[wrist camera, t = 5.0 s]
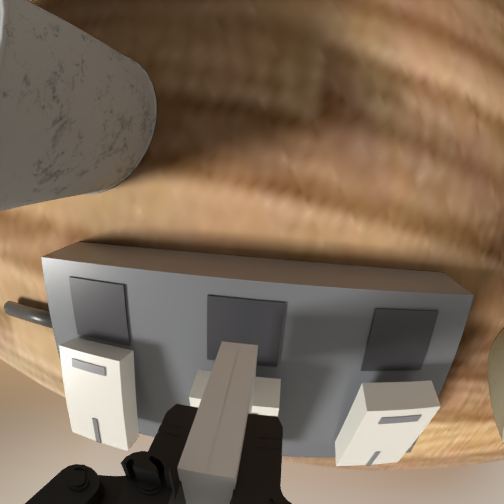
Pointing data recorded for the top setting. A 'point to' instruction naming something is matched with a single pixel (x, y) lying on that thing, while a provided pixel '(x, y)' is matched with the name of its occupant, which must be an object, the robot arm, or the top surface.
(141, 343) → the power strip
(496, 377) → the flower pot
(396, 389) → the rocker
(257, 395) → the block
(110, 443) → the rocker
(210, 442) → the robot arm
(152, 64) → the top surface
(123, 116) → the grey concrete cylinder
